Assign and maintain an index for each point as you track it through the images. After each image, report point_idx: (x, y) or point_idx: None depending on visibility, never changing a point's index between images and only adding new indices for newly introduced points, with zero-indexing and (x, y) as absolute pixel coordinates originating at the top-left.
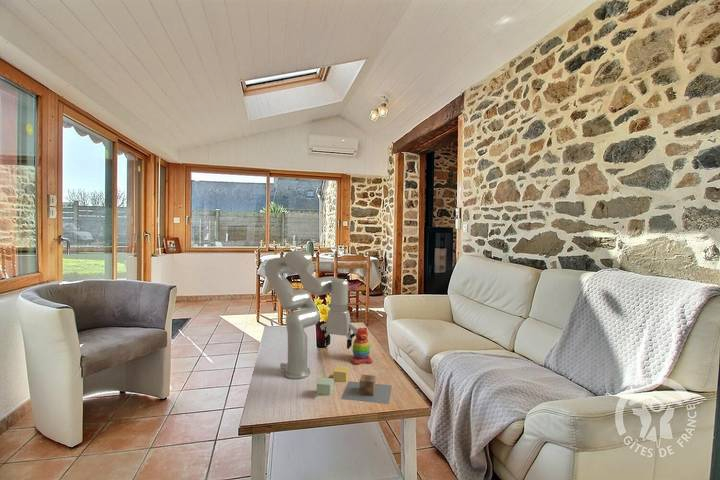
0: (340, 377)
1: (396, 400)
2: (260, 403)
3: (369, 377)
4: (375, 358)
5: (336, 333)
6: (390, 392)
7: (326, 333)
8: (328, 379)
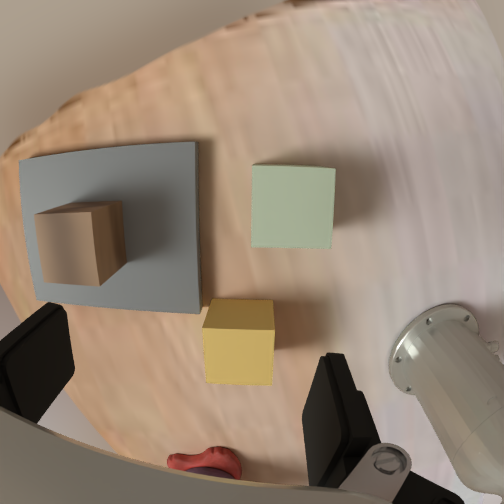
0: (236, 315)
1: (15, 215)
2: (497, 104)
3: (59, 259)
4: None
5: (96, 470)
6: (27, 245)
7: (384, 491)
8: (279, 230)
